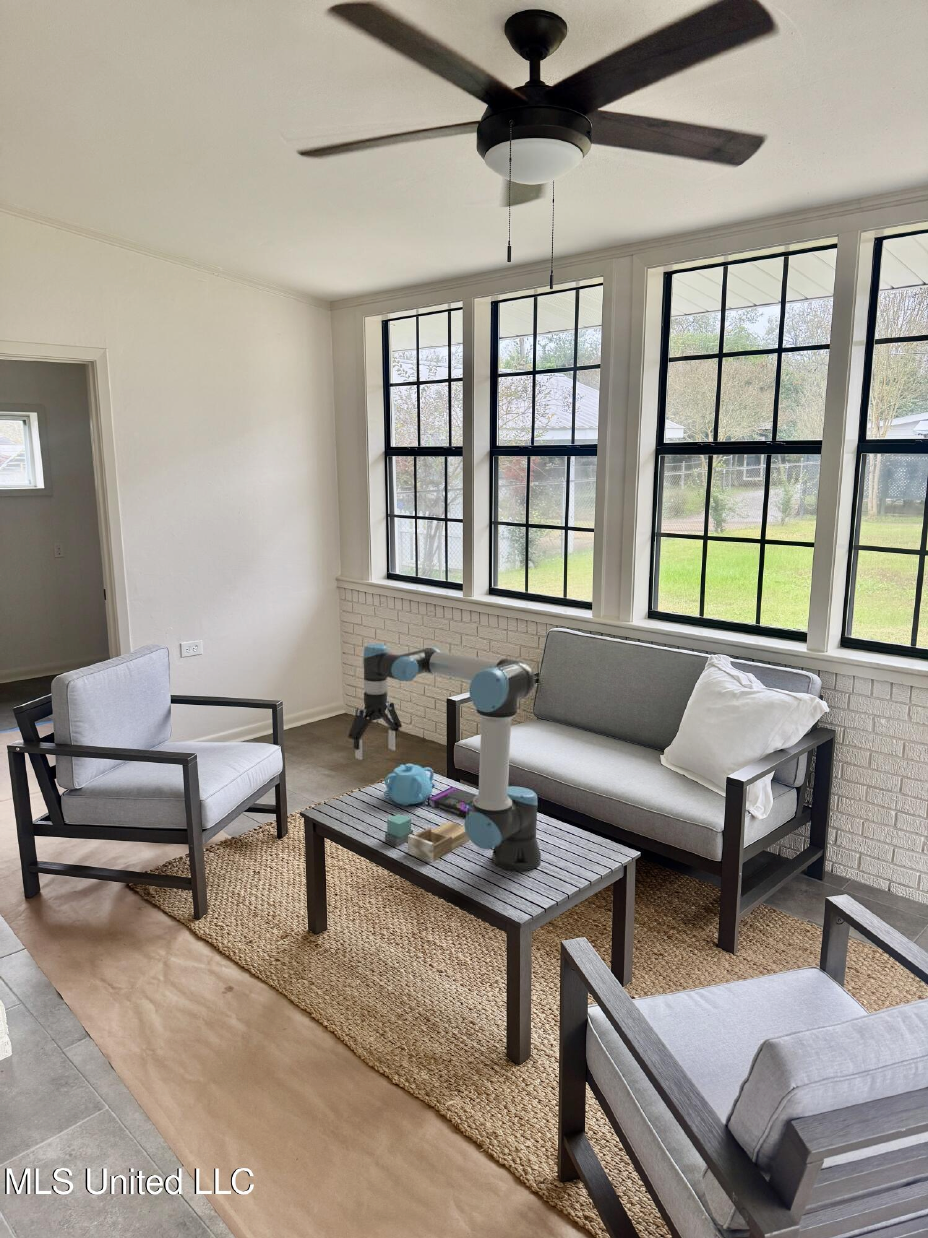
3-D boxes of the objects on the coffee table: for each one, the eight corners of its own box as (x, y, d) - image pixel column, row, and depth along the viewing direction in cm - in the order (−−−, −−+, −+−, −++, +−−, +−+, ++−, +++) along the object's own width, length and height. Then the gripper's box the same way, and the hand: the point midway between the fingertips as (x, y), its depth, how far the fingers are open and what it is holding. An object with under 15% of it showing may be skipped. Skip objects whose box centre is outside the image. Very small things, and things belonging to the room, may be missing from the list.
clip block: (411, 831, 264) (411, 818, 264) (399, 837, 260) (399, 824, 259) (398, 826, 268) (398, 814, 267) (387, 832, 263) (387, 819, 263)
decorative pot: (401, 789, 307) (400, 754, 305) (439, 795, 301) (438, 760, 298) (379, 804, 293) (378, 768, 291) (418, 811, 286) (418, 775, 284)
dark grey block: (412, 838, 266) (413, 830, 265) (396, 847, 260) (396, 838, 259) (401, 834, 269) (401, 825, 268) (385, 842, 263) (385, 833, 262)
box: (427, 807, 293) (469, 821, 281) (427, 797, 293) (469, 811, 281) (451, 795, 304) (493, 808, 292) (451, 786, 303) (493, 799, 291)
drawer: (471, 840, 266) (471, 823, 264) (430, 862, 250) (431, 844, 249) (448, 831, 271) (448, 815, 270) (407, 853, 256) (408, 835, 255)
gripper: (398, 682, 274) (397, 742, 278) (336, 695, 257) (337, 759, 261) (412, 687, 269) (411, 748, 273) (350, 701, 252) (351, 765, 256)
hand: (375, 753), depth 267 cm, fingers open, 13 cm apart
